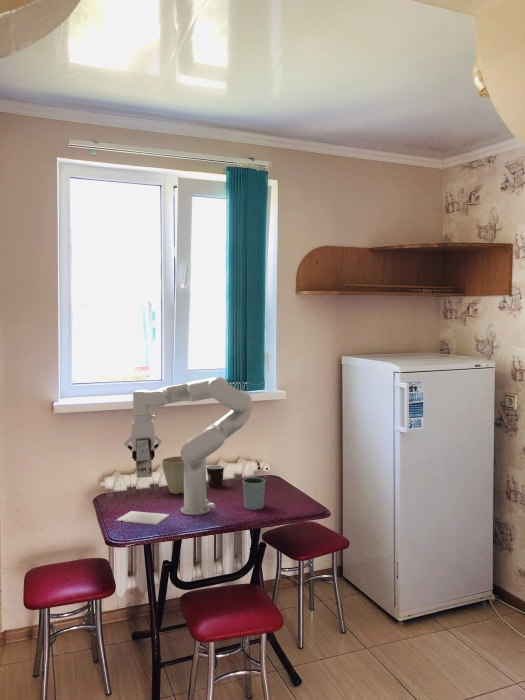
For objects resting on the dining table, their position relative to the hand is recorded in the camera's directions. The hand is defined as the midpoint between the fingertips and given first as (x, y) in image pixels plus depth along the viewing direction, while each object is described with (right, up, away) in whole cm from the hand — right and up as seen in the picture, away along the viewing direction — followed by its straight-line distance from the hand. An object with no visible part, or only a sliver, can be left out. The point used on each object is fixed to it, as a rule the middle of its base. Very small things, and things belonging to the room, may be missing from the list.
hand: (143, 459), depth 248 cm
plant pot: (+10, -22, +31) cm, 39 cm away
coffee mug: (+28, -22, +38) cm, 52 cm away
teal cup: (+48, -22, +6) cm, 53 cm away
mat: (+2, -23, -9) cm, 25 cm away
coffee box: (0, -7, 0) cm, 7 cm away
